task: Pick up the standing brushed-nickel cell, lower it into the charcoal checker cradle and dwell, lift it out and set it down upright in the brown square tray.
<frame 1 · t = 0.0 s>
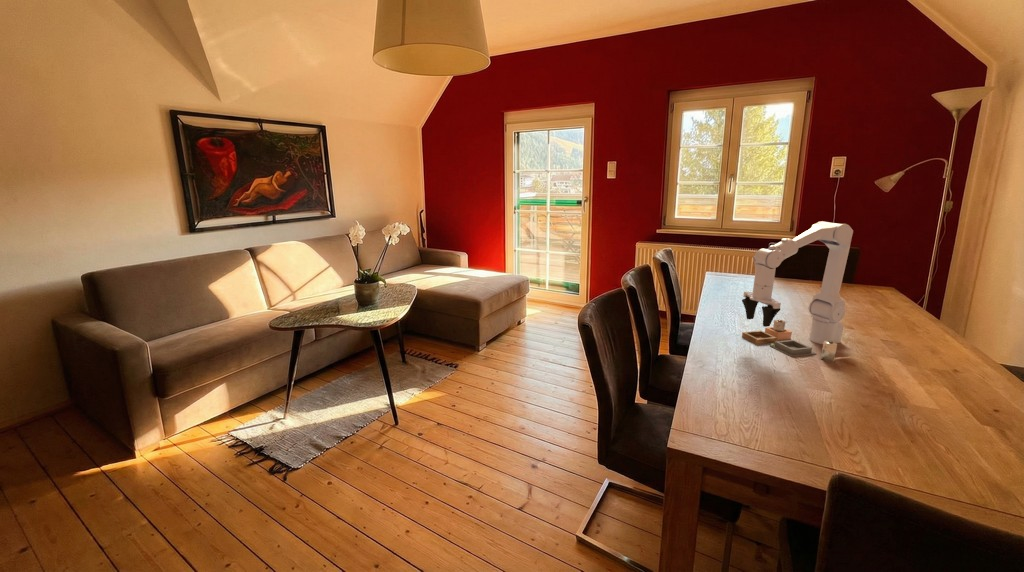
hand: (757, 322, 150), 10 cm above the table, fingers open, 7 cm apart
cradle: (792, 351, 150), on the table
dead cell: (777, 336, 162), point 1 cm above the table, touching orange square box
orange square box: (777, 337, 162), on the table
cell: (827, 359, 144), on the table
brown square tray: (758, 341, 160), on the table
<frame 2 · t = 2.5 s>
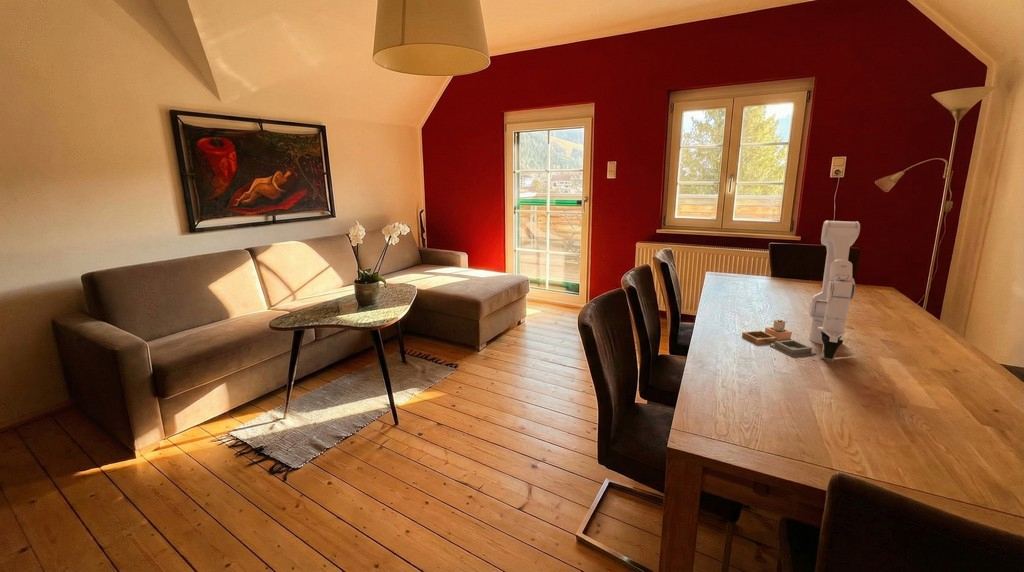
hand: (828, 355, 143), 1 cm above the table, fingers closed on cell, 4 cm apart
cell: (827, 359, 144), on the table, touching gripper
everything else where it was.
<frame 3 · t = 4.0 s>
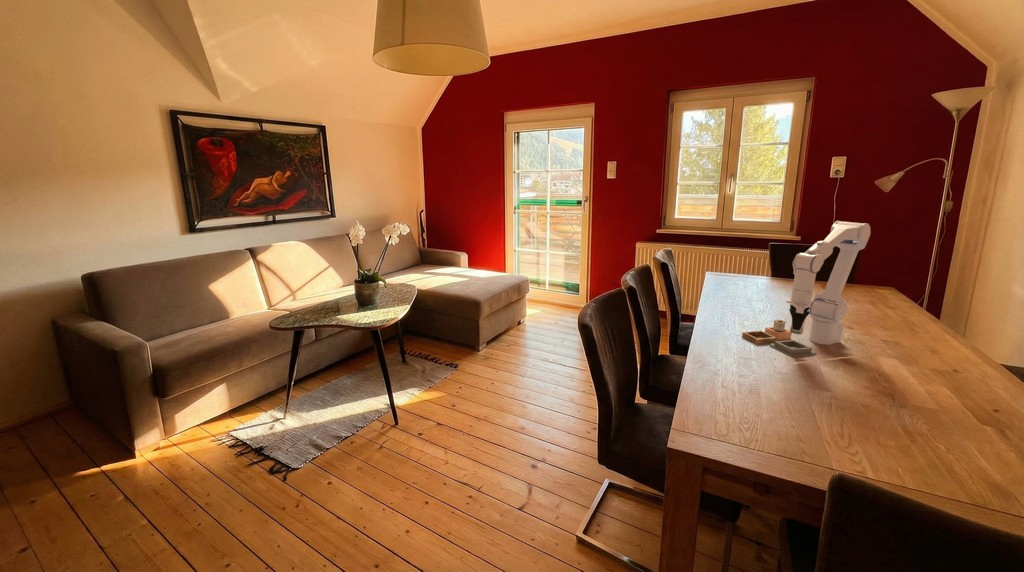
hand: (796, 327, 148), 9 cm above the table, fingers closed on cell, 4 cm apart
cell: (796, 332, 148), point 7 cm above the table, touching gripper
everything else where it was.
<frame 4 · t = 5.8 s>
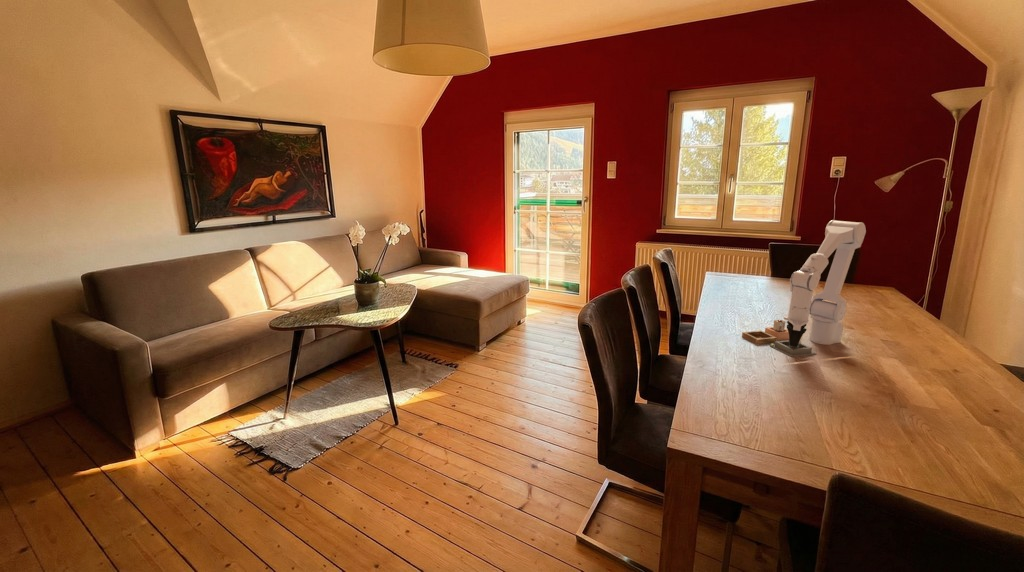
hand: (793, 343, 149), 3 cm above the table, fingers closed on cell, 4 cm apart
cell: (793, 348, 150), point 1 cm above the table, touching gripper
everything else where it was.
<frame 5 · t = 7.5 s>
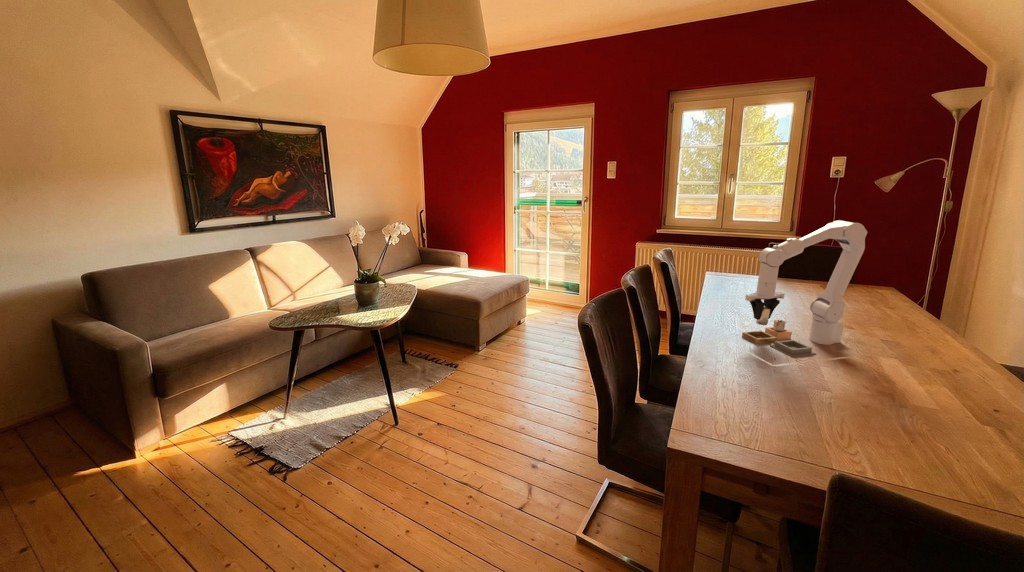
hand: (761, 318, 157), 9 cm above the table, fingers closed on cell, 4 cm apart
cell: (761, 323, 157), point 7 cm above the table, touching gripper
everything else where it was.
when the fingers open (3 cm above the table, at t = 9.0 s): cell stays where it is, resting on brown square tray.
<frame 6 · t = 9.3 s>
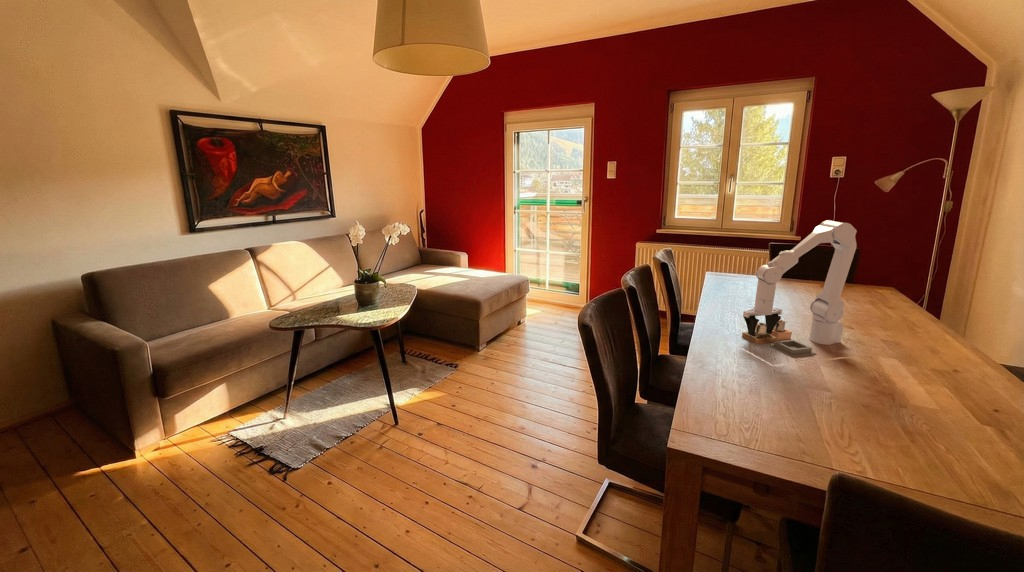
hand: (759, 334, 159), 3 cm above the table, fingers open, 7 cm apart
cell: (759, 339, 159), point 1 cm above the table, touching brown square tray
everything else where it was.
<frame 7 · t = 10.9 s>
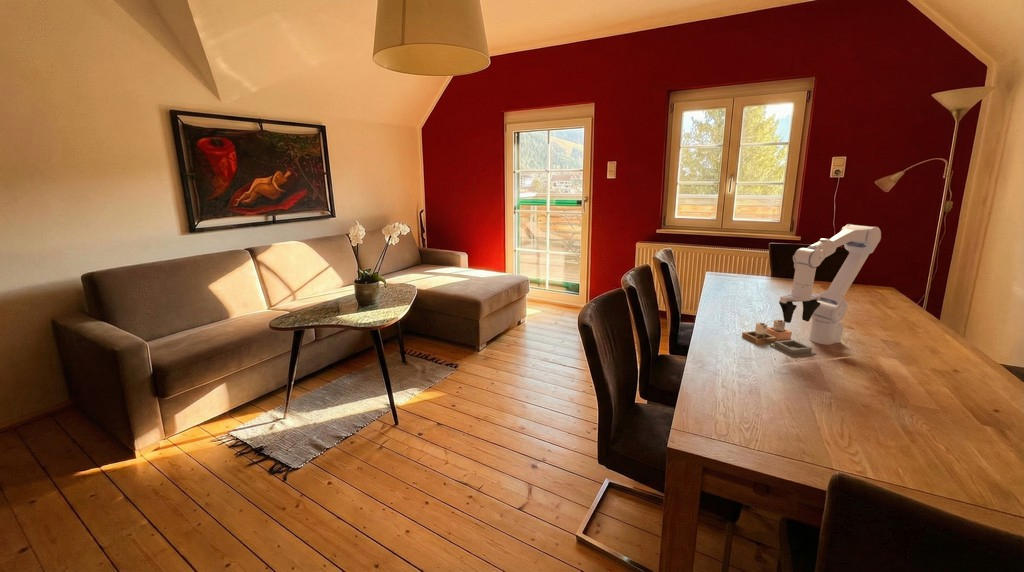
hand: (796, 321, 151), 10 cm above the table, fingers open, 7 cm apart
nothing on the table moved.
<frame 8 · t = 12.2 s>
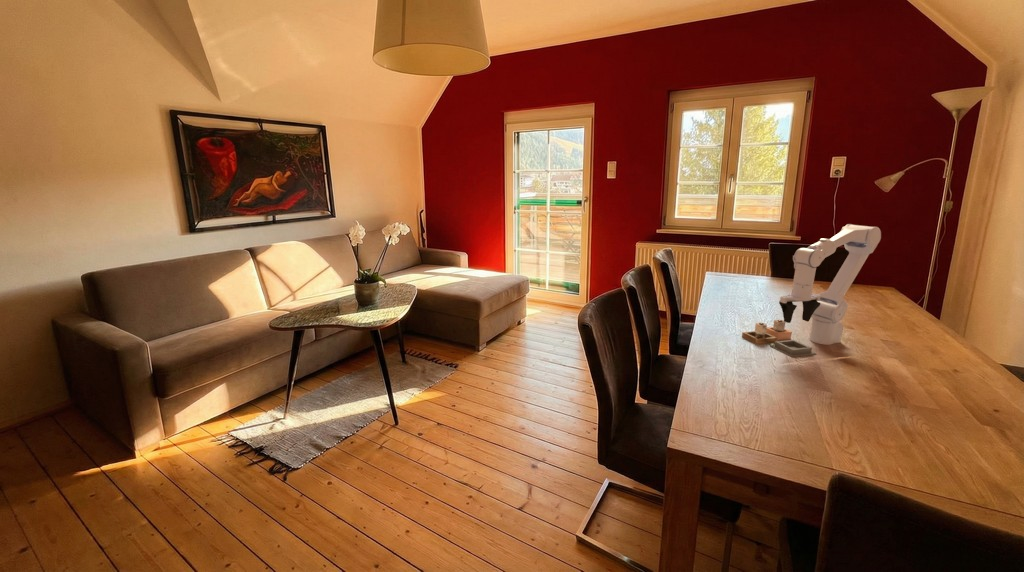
hand: (796, 321, 151), 10 cm above the table, fingers open, 7 cm apart
nothing on the table moved.
at the end: cell 0.3 cm off-centre on the brown square tray, point 0.6 cm above the brown square tray's base; cell tilted 1°; the gripper is holding nothing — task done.
